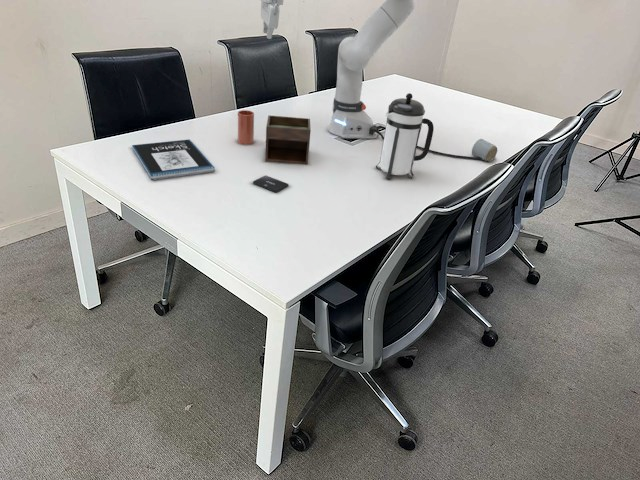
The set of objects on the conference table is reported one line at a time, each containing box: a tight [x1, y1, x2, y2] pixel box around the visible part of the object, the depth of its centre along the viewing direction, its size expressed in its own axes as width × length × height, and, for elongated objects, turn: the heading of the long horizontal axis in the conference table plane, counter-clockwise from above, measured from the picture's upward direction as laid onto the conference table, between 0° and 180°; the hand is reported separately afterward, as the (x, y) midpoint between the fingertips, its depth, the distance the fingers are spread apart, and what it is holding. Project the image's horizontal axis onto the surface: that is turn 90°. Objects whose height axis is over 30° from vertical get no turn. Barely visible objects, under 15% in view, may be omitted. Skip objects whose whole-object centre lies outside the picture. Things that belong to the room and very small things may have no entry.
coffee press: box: [375, 92, 435, 181], centre depth 168 cm, size 17×16×30 cm
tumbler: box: [237, 109, 255, 146], centre depth 185 cm, size 6×6×12 cm
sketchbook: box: [131, 139, 216, 181], centre depth 166 cm, size 22×30×2 cm
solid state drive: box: [252, 174, 289, 193], centre depth 157 cm, size 7×10×1 cm
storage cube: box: [264, 114, 312, 165], centre depth 176 cm, size 16×13×14 cm
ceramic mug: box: [471, 138, 498, 162], centre depth 196 cm, size 11×8×8 cm
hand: (267, 35), depth 184 cm, fingers open, 8 cm apart
